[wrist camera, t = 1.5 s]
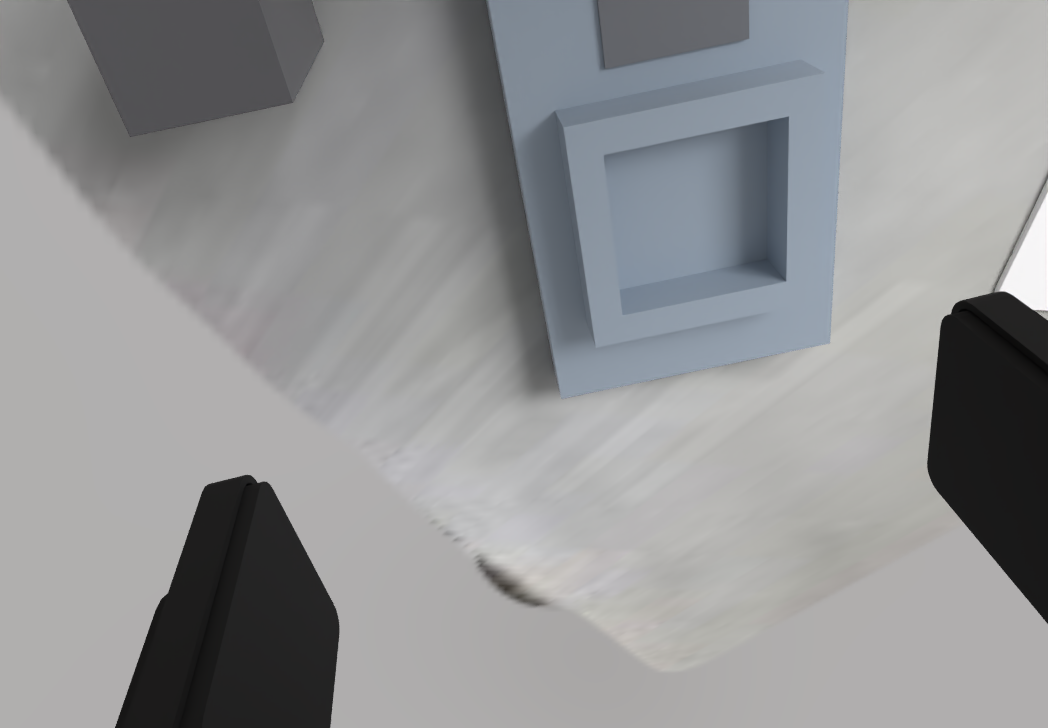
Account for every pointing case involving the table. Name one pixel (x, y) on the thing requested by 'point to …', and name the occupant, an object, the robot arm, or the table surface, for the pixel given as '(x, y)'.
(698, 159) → the blue-grey fixture board
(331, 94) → the table surface
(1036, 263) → the smartphone
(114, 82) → the block
